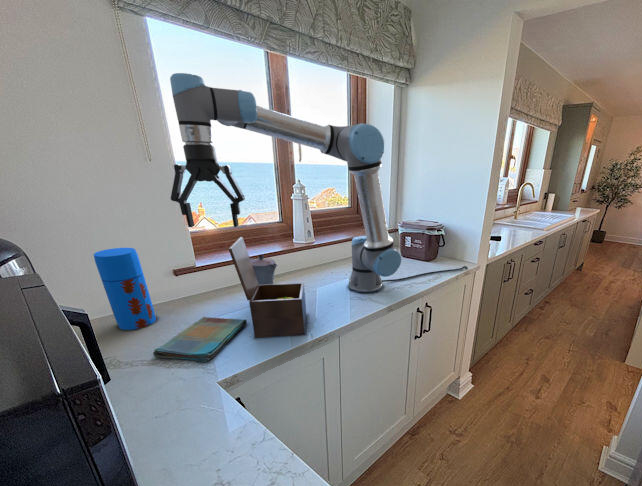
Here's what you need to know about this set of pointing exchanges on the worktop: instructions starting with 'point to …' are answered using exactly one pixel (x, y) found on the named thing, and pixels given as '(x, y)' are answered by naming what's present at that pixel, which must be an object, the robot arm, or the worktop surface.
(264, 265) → the moka pot
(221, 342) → the dish towel
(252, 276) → the chest lid
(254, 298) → the chest
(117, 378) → the worktop surface
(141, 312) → the thermos
